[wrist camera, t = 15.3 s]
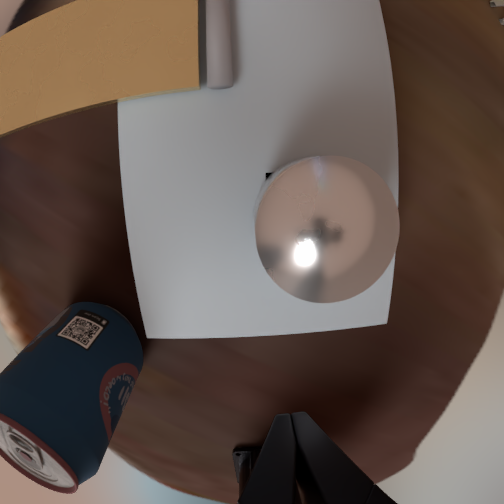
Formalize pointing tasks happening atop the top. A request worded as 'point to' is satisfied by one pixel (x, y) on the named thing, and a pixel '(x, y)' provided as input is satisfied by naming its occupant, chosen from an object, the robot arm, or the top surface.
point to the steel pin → (325, 227)
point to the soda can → (68, 395)
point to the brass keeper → (97, 58)
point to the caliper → (498, 1)
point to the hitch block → (252, 162)
